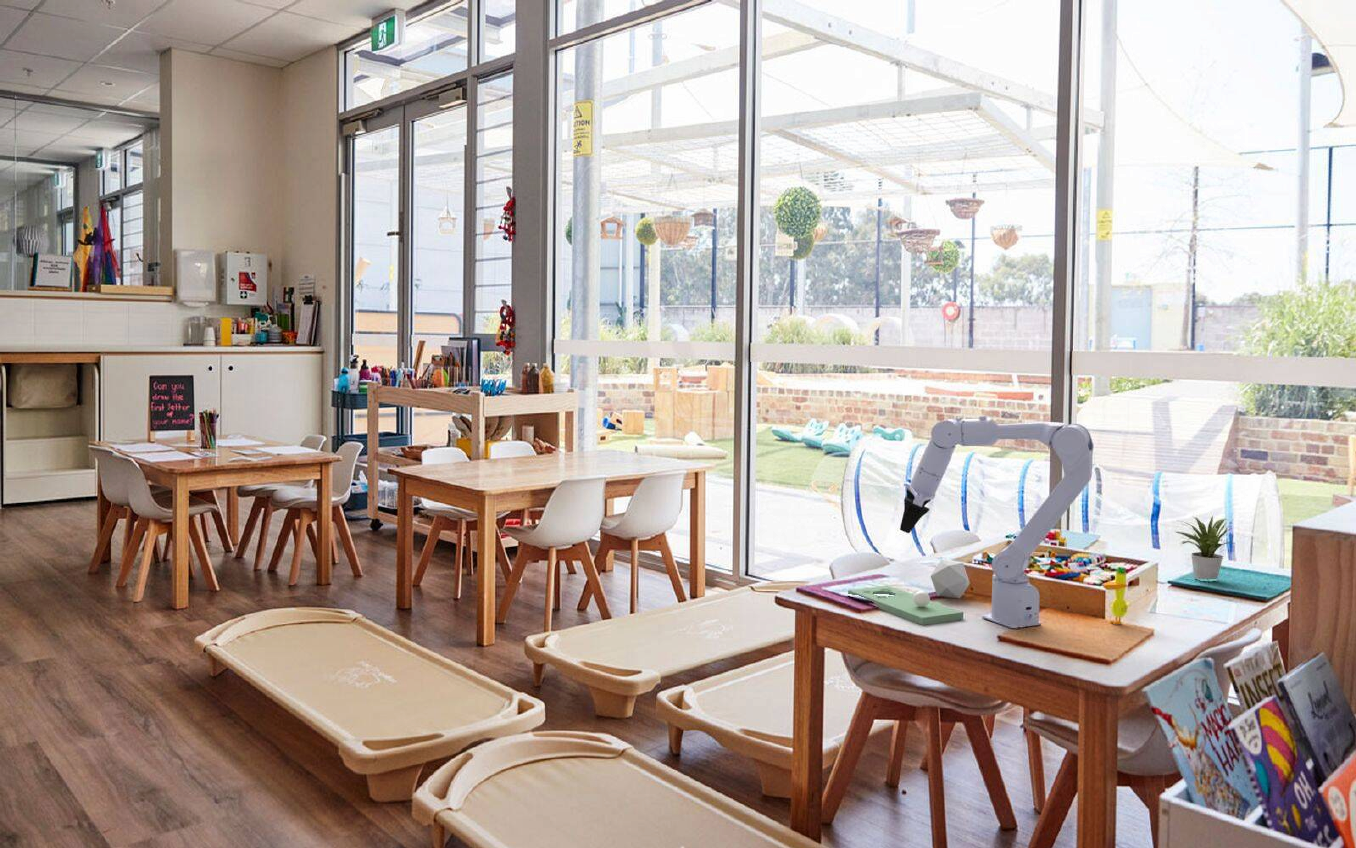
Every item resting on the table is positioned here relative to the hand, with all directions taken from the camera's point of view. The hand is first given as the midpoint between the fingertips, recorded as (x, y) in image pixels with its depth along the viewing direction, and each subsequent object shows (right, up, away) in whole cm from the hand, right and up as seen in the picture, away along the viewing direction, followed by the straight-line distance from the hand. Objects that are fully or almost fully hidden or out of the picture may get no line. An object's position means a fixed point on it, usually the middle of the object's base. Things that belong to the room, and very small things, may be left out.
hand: (905, 526), depth 237 cm
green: (0, -18, +1) cm, 18 cm away
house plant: (+82, -16, +33) cm, 89 cm away
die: (+13, -17, +12) cm, 25 cm away
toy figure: (+42, -20, -10) cm, 47 cm away
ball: (+3, -15, -4) cm, 16 cm away
